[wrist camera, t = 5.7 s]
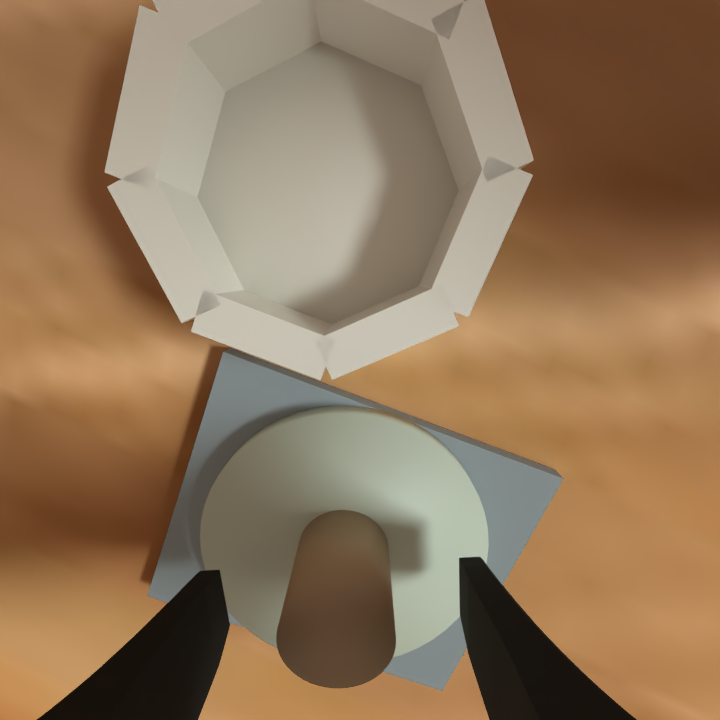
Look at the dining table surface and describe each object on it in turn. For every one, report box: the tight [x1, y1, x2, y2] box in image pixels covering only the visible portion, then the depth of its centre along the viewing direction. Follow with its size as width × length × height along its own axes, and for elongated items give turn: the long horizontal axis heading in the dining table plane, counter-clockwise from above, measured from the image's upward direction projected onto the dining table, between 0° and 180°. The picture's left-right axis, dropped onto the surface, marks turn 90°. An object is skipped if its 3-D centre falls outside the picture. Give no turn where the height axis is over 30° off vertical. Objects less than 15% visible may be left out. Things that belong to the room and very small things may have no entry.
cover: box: [200, 405, 489, 688], centre depth 11 cm, size 10×10×4 cm
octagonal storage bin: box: [105, 0, 534, 380], centre depth 10 cm, size 9×9×3 cm
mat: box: [147, 348, 563, 691], centre depth 14 cm, size 12×10×1 cm
